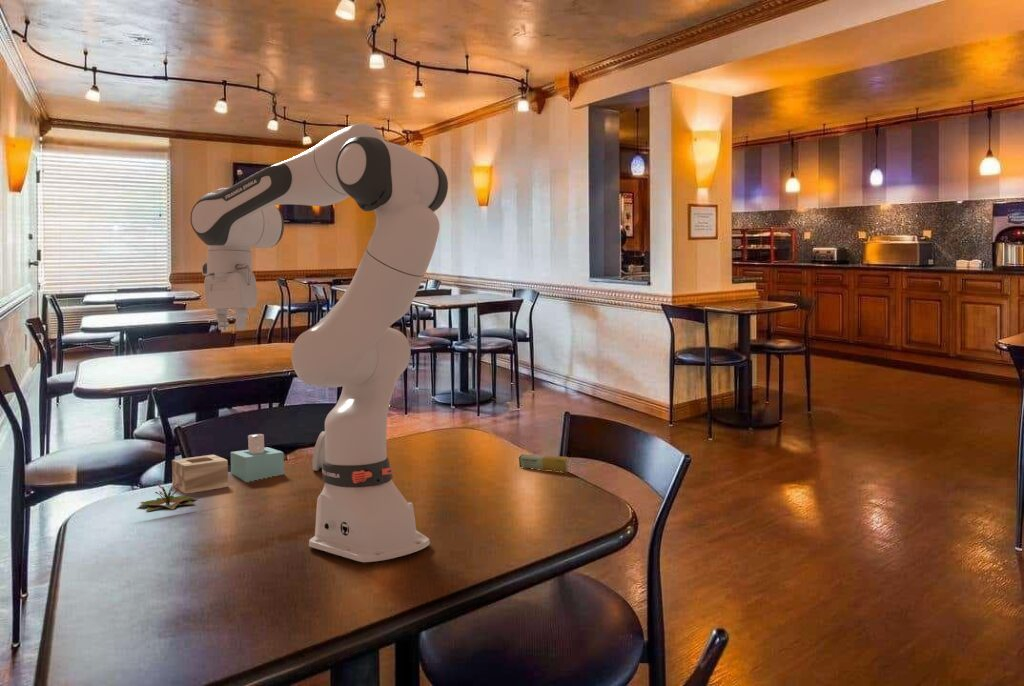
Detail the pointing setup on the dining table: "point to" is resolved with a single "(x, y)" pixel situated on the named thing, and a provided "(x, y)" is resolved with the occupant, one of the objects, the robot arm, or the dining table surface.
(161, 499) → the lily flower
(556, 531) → the dining table surface
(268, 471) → the teal socket
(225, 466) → the block
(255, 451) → the lock pin
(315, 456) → the mechanical component
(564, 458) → the medication box
